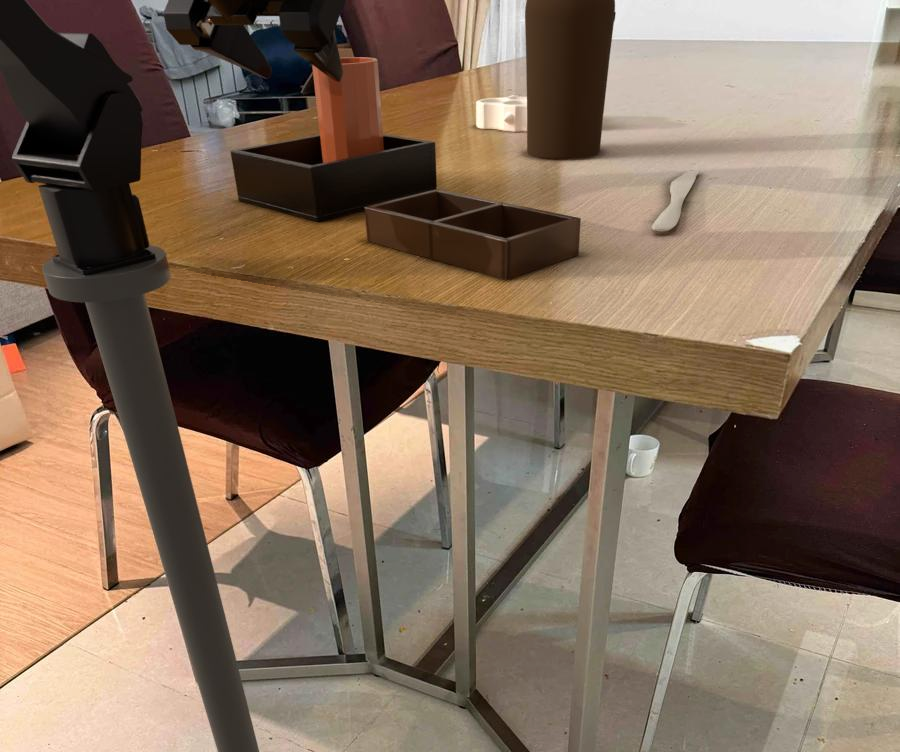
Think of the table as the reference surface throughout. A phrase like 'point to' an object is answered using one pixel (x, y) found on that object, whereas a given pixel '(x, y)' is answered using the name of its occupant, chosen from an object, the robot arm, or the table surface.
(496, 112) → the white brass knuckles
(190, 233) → the table surface
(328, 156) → the cup
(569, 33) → the dark brown cylinder
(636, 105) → the table surface
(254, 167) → the black open box
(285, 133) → the table surface
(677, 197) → the butter knife
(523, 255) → the brown divided tray
